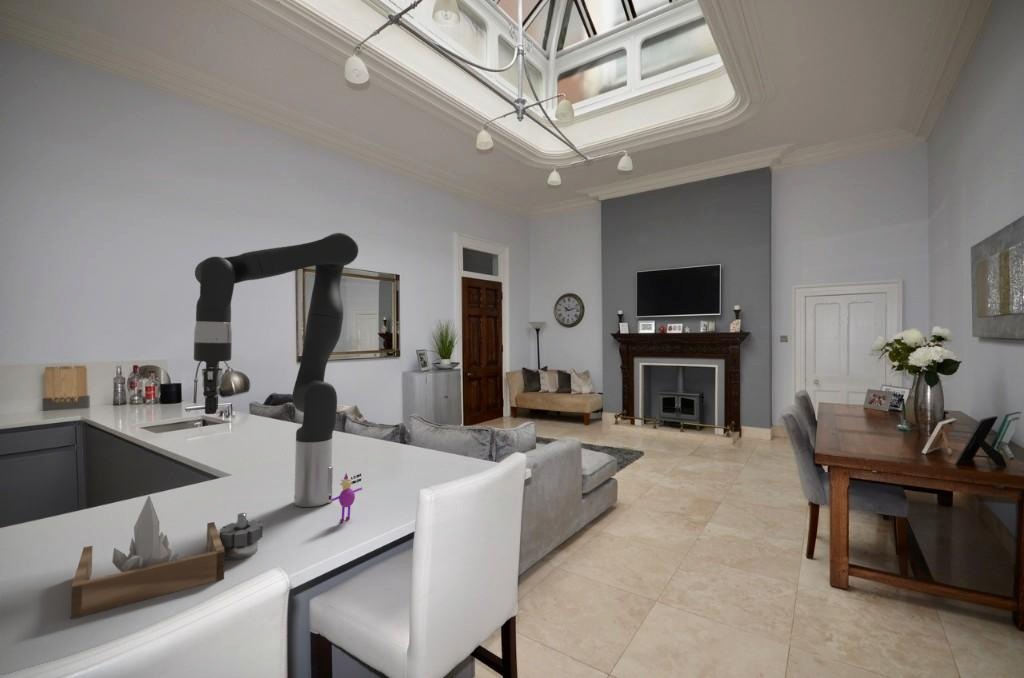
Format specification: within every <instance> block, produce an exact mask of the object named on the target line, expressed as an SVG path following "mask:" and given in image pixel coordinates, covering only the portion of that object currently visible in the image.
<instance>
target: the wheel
mask: <svg viewBox="0 0 1024 678" xmlns="http://www.w3.org/2000/svg"><path fill="white" fill-rule="evenodd" d="M263 523H264V522H262V521H261V520H257V519H256V520H255V519H251V520H249V519H246V529H244V530H237V521H236V522H235V523H234V522H230V523H229V524H226V525H224V526H222V527H221V528H220V530H219V537H220V540H221V543H222V546H223V547H224V546H225V547H231V546H234V547H239V546H245V545H247V543H251V544H252V543H254V542H256V541H260V540H261V539H262V538H263V529H264V525H263Z"/></svg>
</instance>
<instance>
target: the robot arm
mask: <svg viewBox="0 0 1024 678" xmlns="http://www.w3.org/2000/svg"><path fill="white" fill-rule="evenodd" d="M358 245H359V244H358V243H357V241H356V240H355V239H354V238H353V237H352V236H351V235H350V234H347V233H344V232H336V233H335V232H334V233H332V234H330V235H327V236H325V237H323V238H321V239H317V240H314V241H311V242H306V243H305V242H304V243H300V244H294V245H288V246H287V245H286V246H280V247H272V248H265V249H258V250H254V251H253V250H252V251H247V252H243V253H241V254H238V255H234V256H227V257H226V256H225V257H222V256H210V257H208V258H205V259H204V260H202V261H201V262H199V263H198V264H197V265H196V266H195V270H194V276H195V279H196V281H197V282H198V283H199V284H200V286H199V298H198V299H197V302H196V306H195V308H196V309H195V327H194V333H193V337H194V340H193V361H196V362H204V363H205V368H202V369H201V376H202V385H201V386H202V388H203V392H202V394H203V397H204V413H205V415H214V414H217V411H218V409H219V395H220V391H221V386H222V376H223V372H224V371H223V368H221V367H220V362H229V361H232V347H233V346H232V343H233V342H232V340H233V339H232V338H233V334H232V333H233V331H232V330H233V329H232V323H231V322H232V306H231V305H232V299H233V293H234V288H235V284H238V283H242V282H246V281H255V280H261V279H266V278H271V277H277V276H280V275H284V274H287V273H292V272H295V271H298V270H302V269H306V268H310V267H314V266H315V267H314V268H315V269H314V270H315V271H314V282H313V287H312V292H311V297H310V303H309V309H308V312H307V313H308V314H307V319H306V326H305V334H304V338H303V339H304V340H303V347H302V352H301V360H300V364H299V367H298V371H297V374H296V380H295V382H294V386H293V390H292V397H291V399H292V400H291V401H292V404H293V406H294V407H295V408H296V410H298V411H299V412H301V413H303V416H302V417H303V419H302V425H301V426H300V427H299V428H297V430H296V431H295V453H294V454H295V456H294V457H295V458H294V462H295V463H294V464H295V465H294V494H293V496H294V500H293V502H294V503H293V504H294V505H295V506H297V507H300V508H312V507H319V506H323V505H326V504H328V500H329V494H331V499H333V483H334V482H333V478H334V476H333V474H334V473H333V471H334V469H333V461H332V460H333V433H334V431H335V427H336V424H337V413H338V412H337V411H338V409H337V408H338V395H337V390H336V389H335V387H334V385H332V384H331V383H329V382H327V381H325V374H326V367H327V364H328V361H329V359H330V357H331V356H332V353H333V352H334V350H335V348H336V347H337V344H338V342H339V340H340V338H341V333H342V328H343V327H342V326H343V321H344V305H343V301H342V299H343V298H342V295H341V281H342V275H343V271H344V267H345V266H348V265H350V264H352V263H353V262H354V261H355V260H356V259H357V256H358V254H359V246H358Z"/></svg>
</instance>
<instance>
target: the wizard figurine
mask: <svg viewBox="0 0 1024 678" xmlns="http://www.w3.org/2000/svg"><path fill="white" fill-rule="evenodd" d="M359 477H362V473H359V474H356V475H353V476H351V477H349V476H348V474H347V472H345V475H344V477H343V478H342V479H340V481H341V483H340V486H342V490H341V492H340V494H339V496H336V497H332V499H331V494H329V500H328V503H329V504H330V503H333V502H334V501H336V500H338V502H339V504H340V506H341V518H340V519H339V522H342V523H343V522H345V519H346V520H350V519H351V506H352V505H353V504H354V501H355V500H356V499H355V498H356V495H355V493H356V492H359V491H363V489H364V487H363V486H360V487H359V488H356V489H354V490H353V489H352V488H351V486H352V485H354V484H356V483H359V482H361V481H362V478H359ZM357 478H358V479H357ZM355 479H356V480H355ZM328 503H327V504H328ZM346 508H347V516H346V517H345V511H346V510H345V509H346Z"/></svg>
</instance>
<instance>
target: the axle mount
mask: <svg viewBox="0 0 1024 678" xmlns="http://www.w3.org/2000/svg"><path fill="white" fill-rule="evenodd" d="M246 520H247V512H240V513H238V514H237V521H236V522H237V530H244V529H246ZM258 541H259V540H258ZM258 541H256V542H254V543H252V544H251V543H247V545H245V546H239V547H234V546H231V547H225V546H223V548H224V551H225V556H224V560H229V561H237V560H242V559H243V560H244V559H247V558H250V557H252V556H254V555H255V554H257V552H258V550H259V548H258V547H259V542H258Z"/></svg>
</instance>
